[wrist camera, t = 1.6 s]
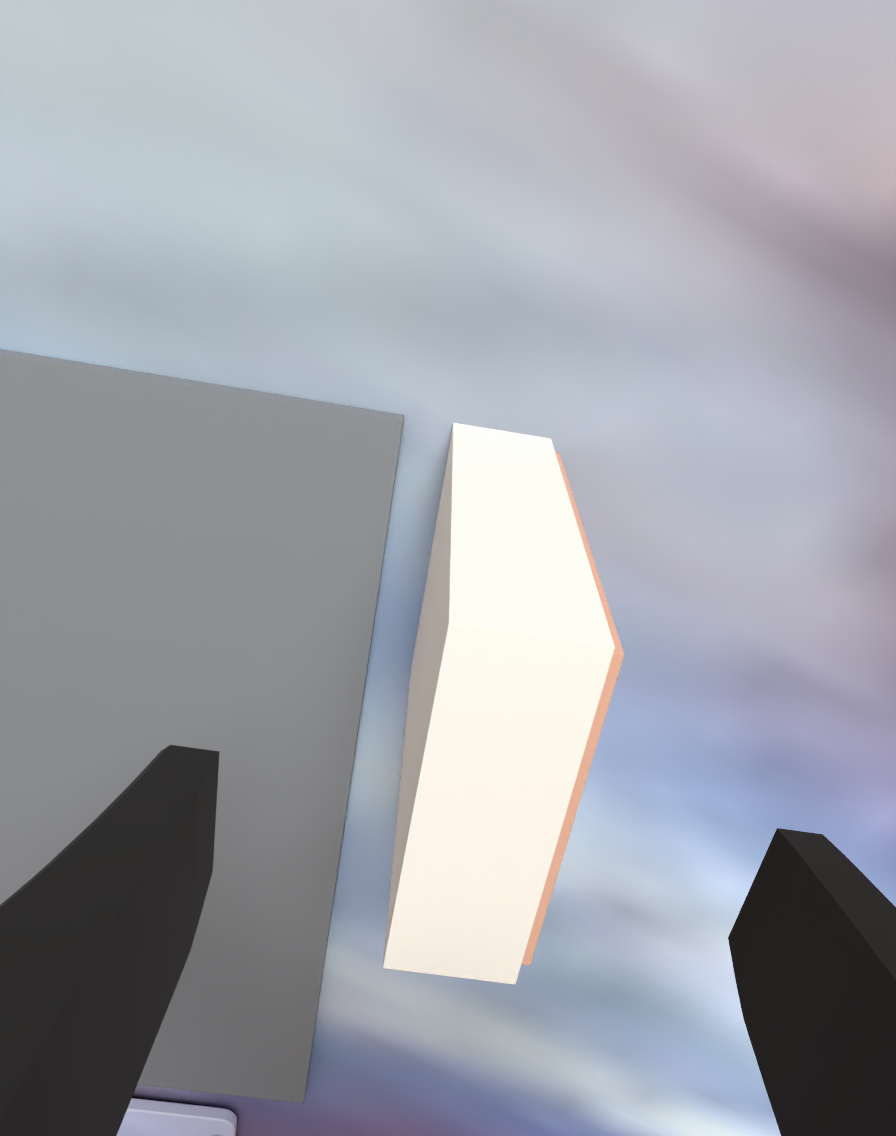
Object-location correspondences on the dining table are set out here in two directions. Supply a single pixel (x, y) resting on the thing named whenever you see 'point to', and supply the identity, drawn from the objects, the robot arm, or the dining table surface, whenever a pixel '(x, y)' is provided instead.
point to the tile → (497, 711)
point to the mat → (194, 664)
